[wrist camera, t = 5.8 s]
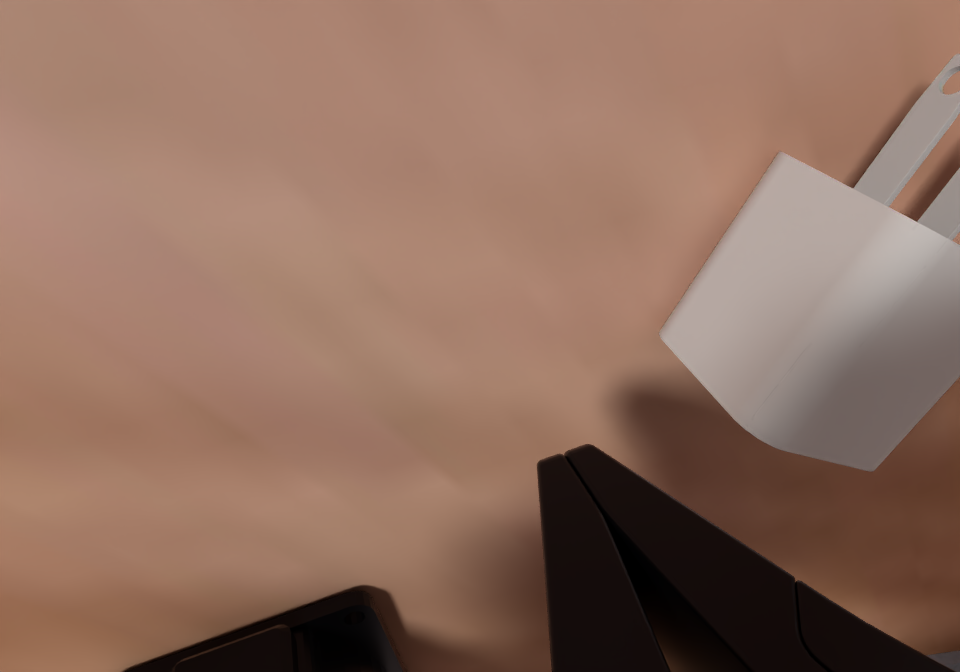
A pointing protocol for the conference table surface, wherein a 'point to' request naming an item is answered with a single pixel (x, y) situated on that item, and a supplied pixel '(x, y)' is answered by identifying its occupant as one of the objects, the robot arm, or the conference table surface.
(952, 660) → the book
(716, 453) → the conference table surface
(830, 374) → the usb wall charger
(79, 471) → the conference table surface
